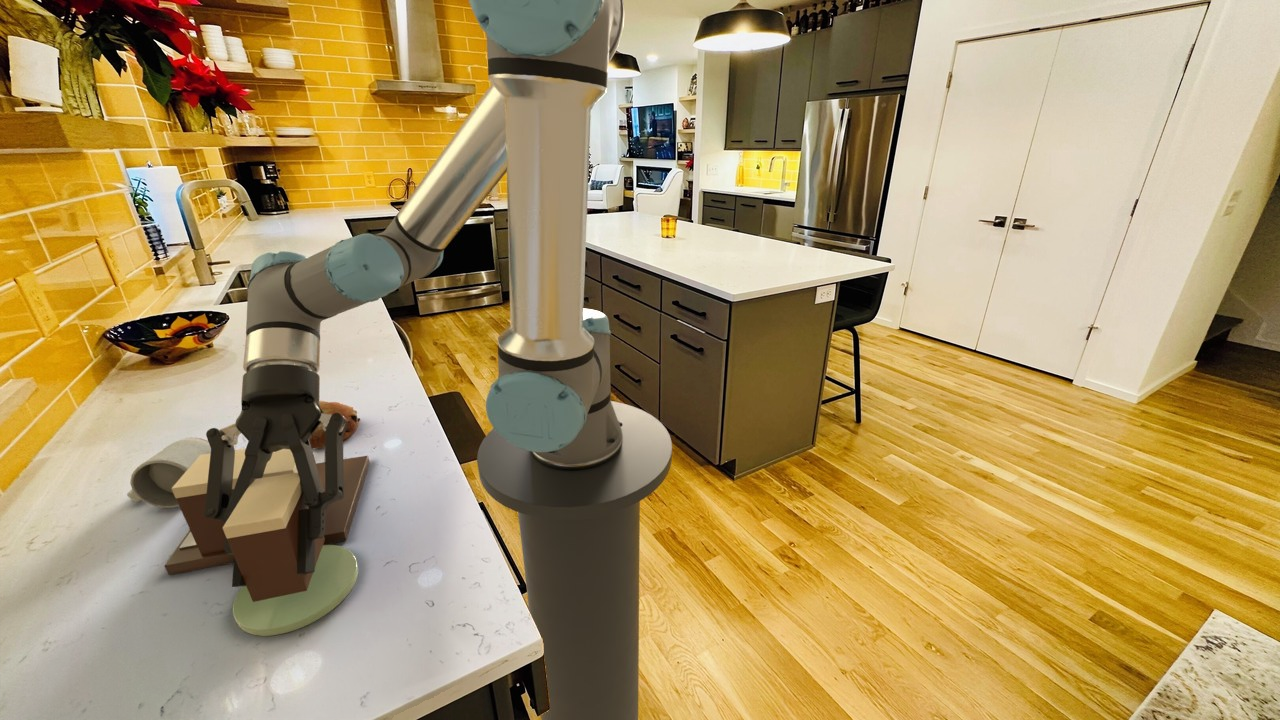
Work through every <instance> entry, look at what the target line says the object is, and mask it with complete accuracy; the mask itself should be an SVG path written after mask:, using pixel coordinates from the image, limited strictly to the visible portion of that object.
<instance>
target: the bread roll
mask: <svg viewBox="0 0 1280 720" xmlns="http://www.w3.org/2000/svg"><path fill="white" fill-rule="evenodd" d="M319 406H320V408H321V410H322V411H323V413H326V414H332V415H333V414H334V413H340V414H341V415H342V416H343V417H344V418H346V419H347V420H348V425H347V428H346V430H345V433H344V436H343V441H345V440H347V439H349V438H350V437H352V436H353V435H354V434H355V432H356V431H357V429H358V427H359V422H361V418H360V417H358V411H357V410H355V409H354V407H353V406H349V405H347V404H343V403H340V402H337V401H325V400H319ZM309 441H310V444H311V448H312V449H321V448H325V431H324V430H323V429H322V423H320V425H319V426H318V427H317V428H316V430H315V431H314V432H313V434H312V435H311V436H310V437H309Z"/></svg>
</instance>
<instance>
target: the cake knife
mask: <svg viewBox="0 0 1280 720" xmlns="http://www.w3.org/2000/svg"><path fill="white" fill-rule="evenodd" d="M191 547H197V544H196V542H195V540H194V538H193V535H192V533H191V532H190V533H189V534H188V536H187V537H186V539H185V540H184V541H183V543H182V544H181V546H180V547H179V549H186V548H191Z"/></svg>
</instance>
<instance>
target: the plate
mask: <svg viewBox="0 0 1280 720" xmlns="http://www.w3.org/2000/svg"><path fill="white" fill-rule="evenodd" d="M357 561H358V560H357V557H356V556H355V554H354V553H353V552H352V551H351V550H349V549H348V548H345V547H343V546H340V545H337V544H336V545H335V544H326V545H323V546H322V549H321V552H320V555H319V558H318V560H317V563H316V566H315V572H313V574H312V577H311V580H310V583H309V586H308V589H307V591H303V592H298V593H294V594H289V595H284V596H279V597H275V598H270V599H265V600H260V601H256V602H253V601H252V599H251V596H250V594H249V591H248V589H247V586H241V588H240V589H239V591H238V592H237V594H236V595H235V599H234V601H233V605H232V615H233V618H234V620H235V623H236V624H237V626H238V627H239V628H240V629H241V630H242V631H243V632H245V633H247V634H250V635H253V636H260V637H270V636H277V635H284V634H287V633H290V632H294V631H296V630H299V629H302V628H304V627H306V626H308V625H310V624H312V623H314V622H316V621H319V619H321V618H323V617H324V616H326V615H327V614H329V613H330V612H331V611H333V610H334V609H335V608H336V607H338V606H339V605H340V604H341V603H342V602H343V601H344V600H345V599H346V598H347V597H348V596H349V594H350V592H351V591H352V590H353V588H354V586H355V584H356V583H357V580H358V576H359V565H358V562H357Z"/></svg>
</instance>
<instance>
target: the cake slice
mask: <svg viewBox="0 0 1280 720" xmlns="http://www.w3.org/2000/svg"><path fill="white" fill-rule="evenodd" d="M304 503H306V499H305V496H304V492H303V489H302V485H301V482H300V478H299V475H298V473H292V474H285V475H279V476H272V477H265V478H259V479H255V481H254V482H253V483H252V484H251V485H250V486H249V487H248V488H247V490H246V491H245V493H244V495H243V496H242V498H241V499H240V501H239V502H238V504H237V506H236V507H235V509H234V510H233V512H232V514H231V515H230V517H229V518H228V520H227V522H226V523H225V525H224V526H223V530H224V533H225V535H226V538H227V540H228V542H229V545H230V547H231V550H232V552H233V555H234V557H235V560H236V562H237V564H238V567H239V569H240V572H241V574H242V577H243V579H244V582H245V584H246V586H247V589H248V591H249V594H250V596H251V599H252V601H253V602H256V601H260V600H265V599H270V598H275V597H279V596H284V595H289V594H294V593H298V592H303V591H307V589H308V586H309V583H310V580H311V577H312V574H313V573H308V574H297V563H298V524H299V510H302V509H308V506H306V505H305V504H304ZM324 541H325V538H324V536H323V538H319V539H315V566H316V563H317V560H318V558H319V555H320V552H321V549H322V546H323V543H324Z"/></svg>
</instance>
